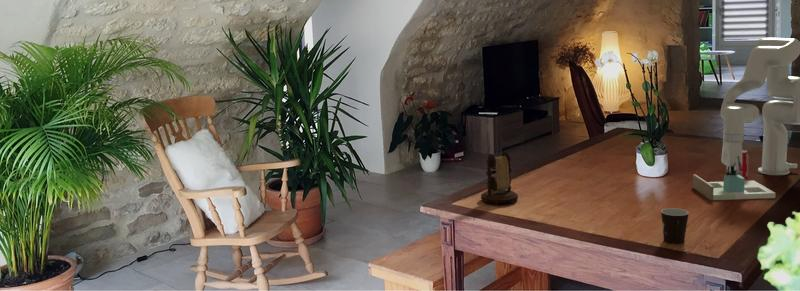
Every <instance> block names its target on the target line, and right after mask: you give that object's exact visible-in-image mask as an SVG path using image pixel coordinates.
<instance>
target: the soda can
mask: <svg viewBox="0 0 800 291" xmlns="http://www.w3.org/2000/svg"><path fill="white" fill-rule="evenodd" d="M749 157H750V155H749V153H748V150H746V149H742V165H741V166H740V167H739V170H737V174H736V175H740V176H742V177H743V178H745V181H749V180H748V179H749V161H750V160H749Z"/></svg>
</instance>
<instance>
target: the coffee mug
mask: <svg viewBox="0 0 800 291" xmlns="http://www.w3.org/2000/svg"><path fill="white" fill-rule="evenodd" d="M660 212H661V213H660V214H661V223H662V225H661V226H662V234H663V235H662V236H663V242H665V243H667V244H672V245H680V244H683V243H684V242H685V238H686V232H687V227H688V226H687V225H688V221H689V220H688V219H689V215H690V214H689V213H690V212H689V211H688V210H686V209H683V208H674V207H672V208H671V207H669V208H663V209H661V211H660Z"/></svg>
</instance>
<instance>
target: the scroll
mask: <svg viewBox="0 0 800 291" xmlns="http://www.w3.org/2000/svg"><path fill="white" fill-rule="evenodd" d="M511 159H512V157H511V156H510V154H509V153H508V152H507V151H503V152H502V153H501V156H495V155H494V153H490V154H488V157H487V159H486V165H487V168H486V172H485V173H486V174H485V175H486V176H487V180H486V181H487V183H486V186H487V190H485V191H484V192H483V193H481V195H480V199H481V200H482V202H483V201H484V202H488V203H494V205H495V206H498V205H499V204H505V203H511V202H515V203H518V199H519V194H518V193H517V192H516V191H514V190H511V189H512V186H511V184H512V179H511V177H512V175H511V172H512V171H513V170H512V167H511V166H512V165H511ZM492 175H496V178H495V177H494V176H492ZM498 203H499V204H498Z"/></svg>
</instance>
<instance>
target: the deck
mask: <svg viewBox="0 0 800 291" xmlns="http://www.w3.org/2000/svg"><path fill="white" fill-rule="evenodd" d="M723 185H724V181H706V180H704V179H703V178H702V177H700V176H699V175H698V174H696V173H695V174H693V175H692V188H693V189H694V190H696V192H698V193H700V194H701V195H703V196H704V197H706V199H708V200H710V201H726V200H727V201H729V200H730V201H732V200H753V199H754V200H755V199H776V195H777V194H776V192H774V191H773V190H771V189H769V188H767V187H766V186H765V185H763V184H761V183H759V182H757V181H756V180H747V181H745V184H744V192H727V191H726V190H725V189H723Z"/></svg>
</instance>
